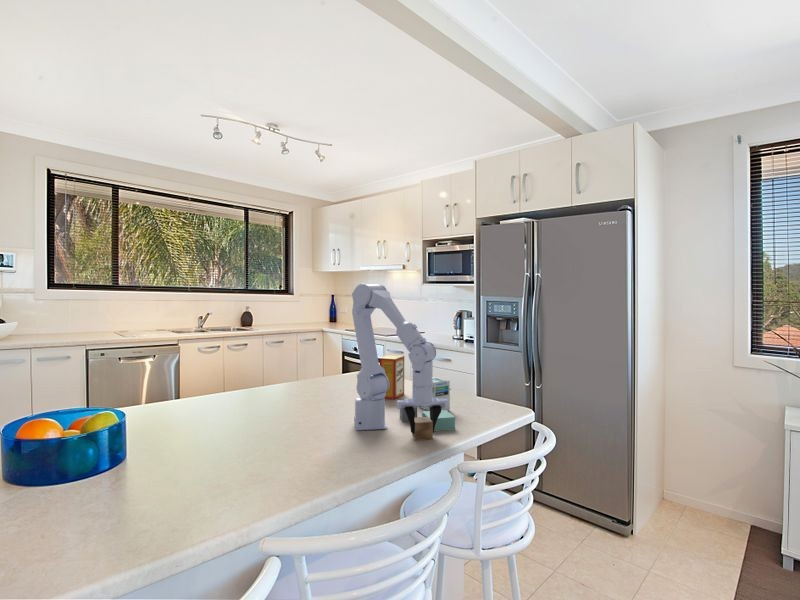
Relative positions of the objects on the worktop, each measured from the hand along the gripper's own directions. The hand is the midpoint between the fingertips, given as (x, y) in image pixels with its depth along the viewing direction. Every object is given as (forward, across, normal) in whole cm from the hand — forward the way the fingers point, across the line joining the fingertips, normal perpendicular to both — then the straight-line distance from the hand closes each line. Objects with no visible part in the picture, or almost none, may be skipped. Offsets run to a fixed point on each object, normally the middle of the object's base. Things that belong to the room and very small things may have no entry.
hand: (422, 432), depth 123 cm
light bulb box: (+2, +10, +28) cm, 30 cm away
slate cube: (+2, -1, +17) cm, 17 cm away
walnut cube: (+1, 0, 0) cm, 1 cm away
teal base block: (+2, +7, +9) cm, 12 cm away
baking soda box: (+2, -2, +48) cm, 48 cm away
